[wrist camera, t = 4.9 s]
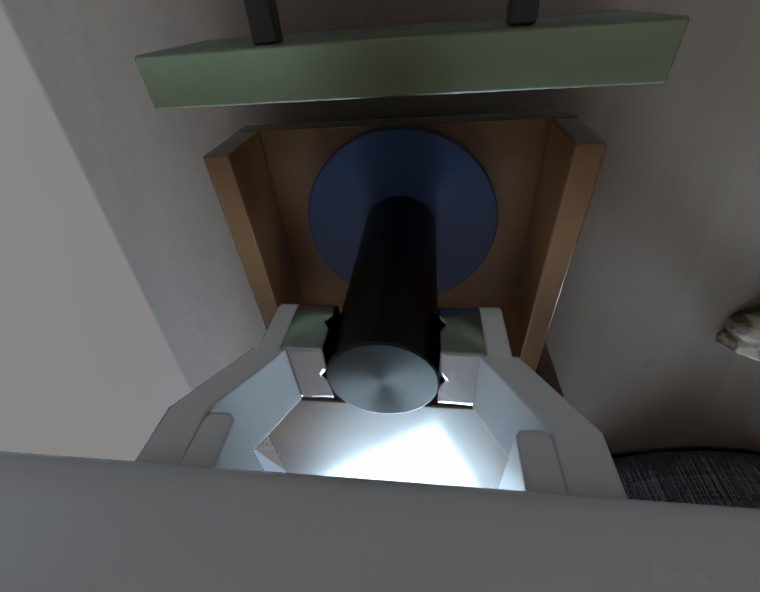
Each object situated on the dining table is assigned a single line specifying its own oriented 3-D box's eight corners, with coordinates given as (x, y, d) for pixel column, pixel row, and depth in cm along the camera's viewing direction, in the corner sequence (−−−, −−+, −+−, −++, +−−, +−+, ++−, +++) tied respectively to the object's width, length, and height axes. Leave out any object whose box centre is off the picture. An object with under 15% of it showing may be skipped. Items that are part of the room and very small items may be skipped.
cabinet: (286, 312, 21) (248, 397, 16) (538, 318, 19) (570, 413, 15) (329, 451, 30) (312, 526, 26) (497, 462, 29) (508, 544, 24)
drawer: (133, -198, 9) (-13, -291, 6) (699, -291, 7) (880, -481, 4) (298, 346, 21) (278, 404, 18) (523, 354, 19) (540, 417, 17)
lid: (326, 292, 17) (273, 450, 11) (293, 129, 12) (172, 251, 6) (484, 294, 16) (516, 466, 10) (510, 119, 11) (594, 250, 6)
